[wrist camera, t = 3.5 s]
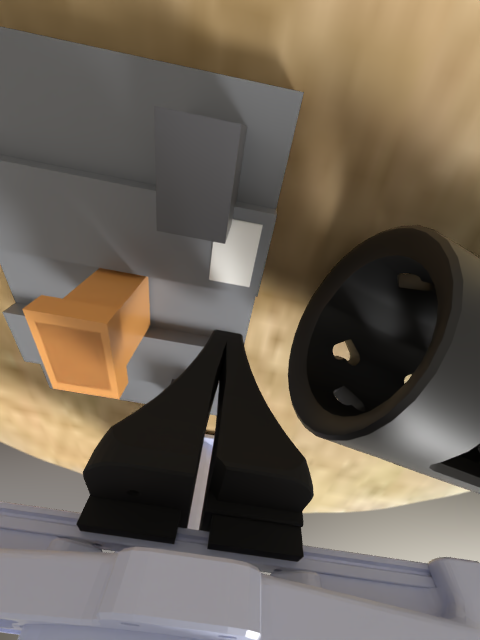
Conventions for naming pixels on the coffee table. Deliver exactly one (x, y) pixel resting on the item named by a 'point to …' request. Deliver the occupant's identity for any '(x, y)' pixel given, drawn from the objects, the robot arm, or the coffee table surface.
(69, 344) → the handle
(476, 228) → the coffee table surface
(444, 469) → the muzzle brake
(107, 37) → the coffee table surface
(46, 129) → the box
